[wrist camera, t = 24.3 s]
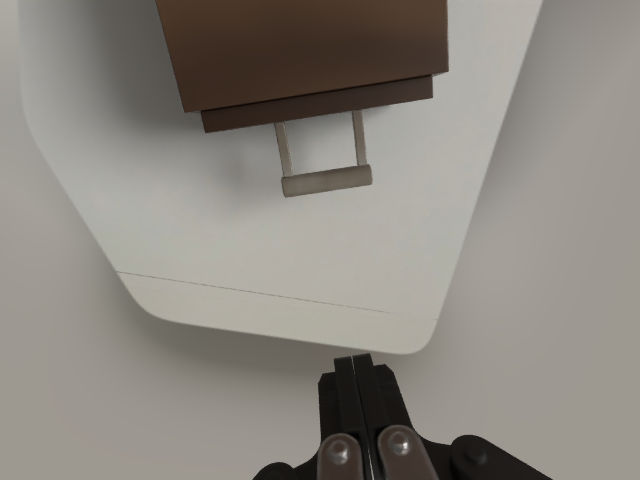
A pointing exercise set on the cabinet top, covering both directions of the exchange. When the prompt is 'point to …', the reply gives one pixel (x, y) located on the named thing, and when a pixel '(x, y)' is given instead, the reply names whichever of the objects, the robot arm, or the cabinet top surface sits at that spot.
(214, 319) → the cabinet top surface
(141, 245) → the cabinet top surface
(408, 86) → the drawer
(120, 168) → the cabinet top surface
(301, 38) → the cabinet
